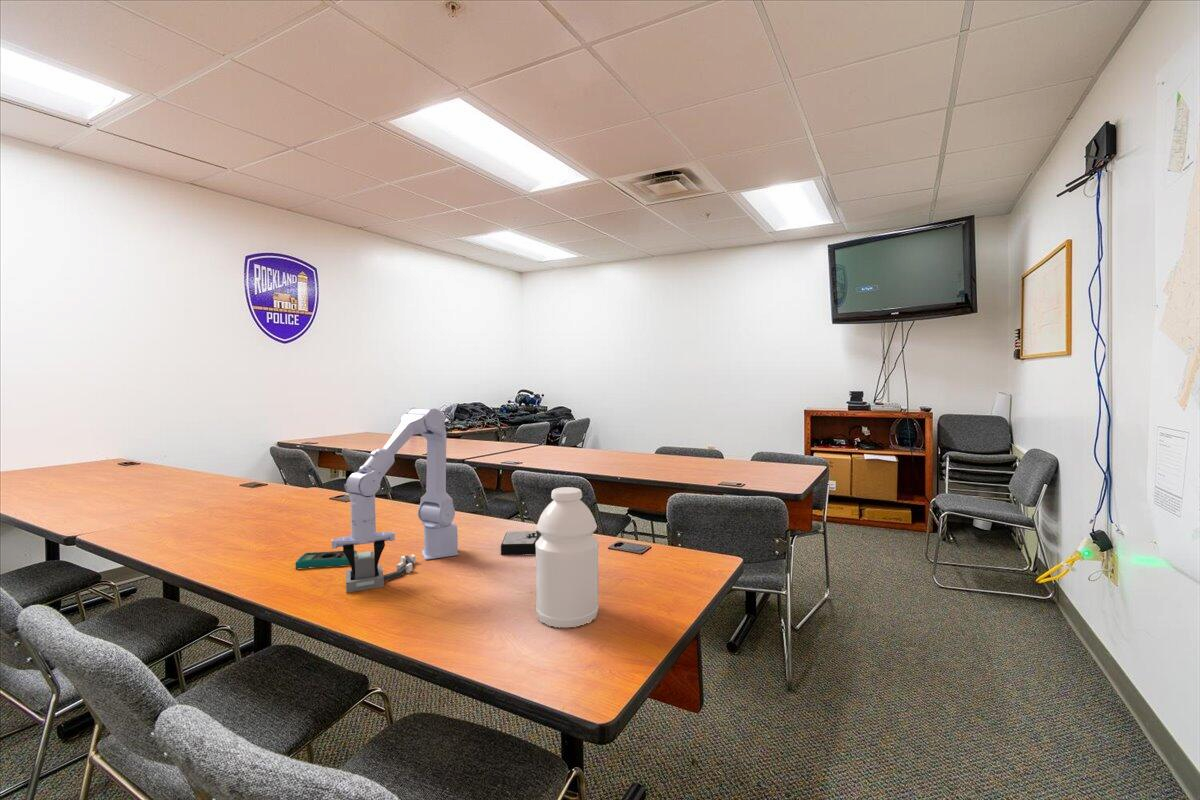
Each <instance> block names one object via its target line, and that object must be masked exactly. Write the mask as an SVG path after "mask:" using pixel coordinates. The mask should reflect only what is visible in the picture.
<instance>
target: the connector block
mask: <svg viewBox="0 0 1200 800" xmlns="http://www.w3.org/2000/svg"><path fill="white" fill-rule="evenodd" d="M370 577H375V560H374V551H362V552H357V554H355V580H358V579H364V578H370Z"/></svg>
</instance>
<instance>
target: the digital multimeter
mask: <svg viewBox="0 0 1200 800" xmlns="http://www.w3.org/2000/svg"><path fill="white" fill-rule="evenodd" d="M355 554H358V551H357V550H355V549H354V561H355ZM341 565H350V563H349V561H348V559H347V557H346V555H345V554H344V552H343V550H335V551H322V552H321V551H319V552H318V551H317V552H305V553H303V554H302V555H301V556H300V557H299V558H298V559H297V560H296V561H295V570H299V569H298V568H307V569H310V568H309V567H319V568H327V567H326V566H334V567H342V566H341Z"/></svg>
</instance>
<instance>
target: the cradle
mask: <svg viewBox="0 0 1200 800" xmlns="http://www.w3.org/2000/svg"><path fill="white" fill-rule="evenodd" d="M383 575H384V570H383V565H382V564H380V565H379V564H378V566H377V571H375V577H370V578H364V579H358V580H355V574H354V575H352V569H346V570H345V586H346V588H345V590H346V591H345V592H346V593H347V594H348V593H352V592H359V591H365V590H366V591H367V590H371V589H377V588H378V589H379V588H382V587H383V588H384V586H385V581H384V576H383Z"/></svg>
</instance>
